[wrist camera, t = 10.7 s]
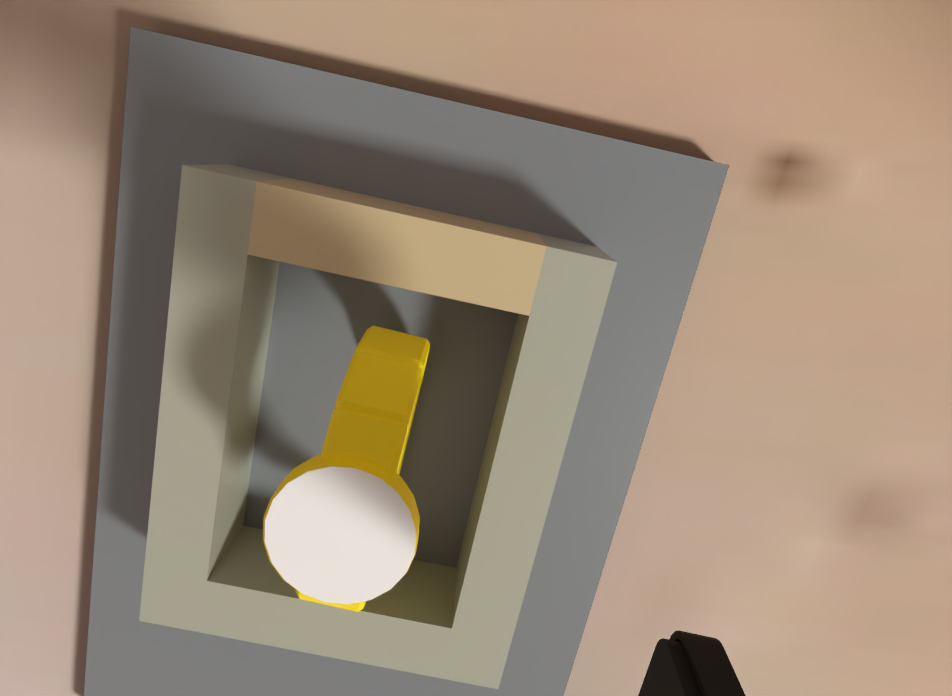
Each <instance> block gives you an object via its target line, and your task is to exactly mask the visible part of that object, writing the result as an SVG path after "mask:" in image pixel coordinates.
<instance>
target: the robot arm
mask: <svg viewBox="0 0 952 696" xmlns="http://www.w3.org/2000/svg"><path fill="white" fill-rule="evenodd" d="M638 696H745V694H744V691H743V689H742V687H741V685H740V683H739V680H738V678H737V676H736V674H735V672H734V669H733V667H732V665H731V663H730V661H729V658H728V656H727V654H726V652H725V650H724V647H723V646H722V644H721V642H720V641H719V640H717V639H716V638H711V637H706V636H702V635H697V634H692V633H687V632H683V631H675V632H674V633H673V634H672V635H671V638H670V640H668V639H660V640H659V641H658V643H657V645H656V647H655V650H654V653H653V656H652V659H651V661H650V664H649V667H648V670H647V673H646V676H645V678H644V681H643V684H642V687H641V690H640V693H639V695H638Z"/></svg>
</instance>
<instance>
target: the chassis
mask: <svg viewBox="0 0 952 696" xmlns="http://www.w3.org/2000/svg"><path fill="white" fill-rule="evenodd" d="M728 167H729V165H726V164H722V163H717V162H713V161H709V160H705V159H700V158H696V157H692V156H687V155H683V154H679V153H674V152H670V151H666V150H661V149H657V148H653V147H648V146H644V145H640V144H636V143H631V142H627V141H623V140H618V139H614V138H610V137H605V136H601V135H597V134H592V133H588V132H584V131H579V130H575V129H571V128H567V127H562V126H558V125H554V124H549V123H545V122H541V121H536V120H532V119H528V118H523V117H519V116H515V115H510V114H506V113H502V112H498V111H493V110H489V109H485V108H480V107H476V106H472V105H467V104H463V103H459V102H454V101H450V100H446V99H441V98H437V97H433V96H429V95H424V94H420V93H416V92H411V91H407V90H403V89H398V88H394V87H390V86H385V85H381V84H377V83H372V82H368V81H364V80H360V79H355V78H351V77H347V76H342V75H338V74H334V73H329V72H325V71H321V70H316V69H312V68H308V67H303V66H299V65H295V64H291V63H286V62H282V61H278V60H273V59H269V58H265V57H260V56H256V55H252V54H247V53H243V52H239V51H234V50H230V49H226V48H222V47H217V46H213V45H209V44H204V43H200V42H196V41H191V40H187V39H183V38H178V37H174V36H170V35H165V34H161V33H157V32H153V31H148V30H144V29H140V28H135V27H131V26H130V40H129V55H128V69H127V83H126V98H125V112H124V126H123V141H122V155H121V169H120V183H119V198H118V212H117V226H116V241H115V255H114V269H113V284H112V298H111V312H110V327H109V341H108V355H107V369H106V384H105V398H104V412H103V427H102V441H101V455H100V470H99V484H98V498H97V513H96V527H95V541H94V556H93V570H92V584H91V598H90V613H89V627H88V641H87V656H86V670H85V684H84V696H563V695H564V692H565V689H566V686H567V682H568V679H569V676H570V673H571V670H572V666H573V663H574V660H575V657H576V654H577V650H578V647H579V644H580V641H581V638H582V634H583V631H584V628H585V625H586V622H587V618H588V615H589V612H590V609H591V606H592V602H593V599H594V596H595V593H596V590H597V586H598V583H599V580H600V577H601V574H602V570H603V567H604V564H605V561H606V558H607V554H608V551H609V548H610V545H611V542H612V538H613V535H614V532H615V529H616V526H617V522H618V519H619V516H620V513H621V510H622V506H623V503H624V500H625V497H626V494H627V490H628V487H629V484H630V481H631V478H632V474H633V471H634V468H635V465H636V462H637V459H638V455H639V452H640V449H641V446H642V443H643V439H644V436H645V433H646V430H647V427H648V423H649V420H650V417H651V414H652V411H653V407H654V404H655V401H656V398H657V395H658V391H659V388H660V385H661V382H662V379H663V375H664V372H665V369H666V366H667V363H668V359H669V356H670V353H671V350H672V347H673V343H674V340H675V337H676V334H677V331H678V327H679V324H680V321H681V318H682V315H683V311H684V308H685V305H686V302H687V299H688V295H689V292H690V289H691V286H692V283H693V279H694V276H695V273H696V270H697V267H698V263H699V260H700V257H701V254H702V251H703V247H704V244H705V241H706V238H707V235H708V231H709V228H710V225H711V222H712V219H713V215H714V212H715V209H716V206H717V203H718V199H719V196H720V193H721V190H722V187H723V183H724V180H725V177H726V174H727V171H728ZM372 326H378V327H382V328H386V329H390V330H394V331H398V332H402V333H406V334H410V335H414V336H418V337H422V338H426V339H427V340H428V341H429V343H430V349H429V354H428V358H427V363H426V367H425V371H424V376H423V382H422V384H421V388H420V392H419V396H418V400H417V404H416V408H415V413H414V417H413V421H412V425H411V429H410V433H409V437H408V441H407V445H406V449H405V454H404V458H403V462H402V466H401V470H400V474H399V476H401V477H402V479H403V480H404V482H405V483H406V484H407V486H408V487H409V489H410V490H411V492H412V493H413V495H414V497H415V501H416V504H417V508H418V512H419V516H420V525H419V537H418V543H417V548H416V553H415V556H414V558H413V560H412V563H411V565H410V567H409V569H408V571H407V573H406V574H405V575H404V576H403V577H402V578H401V579H400V580H399V581H398V582H397V583H396V584H395V586H394V587H393V588H392V589H391V590H389V591H387V592H385V593H383V594H381V595H379V596H377V597H376V598H374V599H372V600H368V601H366V603H365V606H364V608H363V609H362V610H360V611H359V612H356V611H351V610H347V609H342V608H338V607H333V606H329V605H324V604H320V603H315V602H311V601H306V600H302V599H299V597H298V595H297V593H296V589H295V588H294V587H292V586H291V585H290V584H288V583H287V582H286V581H284V580H283V579H282V577H281V576H280V575H279V573H278V572H277V571H276V569H275V568H274V567H273V565H272V564H271V562H270V560H269V557H268V554H267V551H266V549H265V546H264V542H263V518H264V514H265V512H266V509H267V507H268V504H269V502H270V499H271V497H272V496H273V494H274V493H275V491H276V490H277V488H278V487H279V485H280V484H281V482H282V481H283V480H284V479H285V478H286V477H287V476H288V474H289V473H290V472H291V471H292V470H293V469H294V468H295V467H297V466H299V465H300V464H302V463H304V462H306V461H307V460H309V459H311V458H313V457H315V456H320V455H321V452H322V448H323V445H324V441H325V438H326V434H327V431H328V427H329V424H330V420H331V417H332V413H333V410H334V409H335V408H336V400H337V398H338V395H339V392H340V390H341V387H342V384H343V381H344V379H345V376H346V373H347V370H348V368H349V365H350V362H351V359H352V357H353V354H354V353H355V350H356V347H357V346H358V344H359V342H360V341H361V339H362V337H363V335H364V334H365V332H366V330H367V329H368V328H370V327H372Z"/></svg>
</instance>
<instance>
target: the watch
mask: <svg viewBox="0 0 952 696" xmlns="http://www.w3.org/2000/svg"><path fill="white" fill-rule="evenodd" d="M429 349H430V343H429V341H428V340H427V339H426V338H422V337H418V336H414V335H410V334H406V333H402V332H398V331H394V330H390V329H386V328H382V327H378V326H372V327H370V328H368V329H367V330H366V332H365V334H364V335H363V337H362V339H361V341H360V342H359V344H358V346H357V347H356V350H355V353H354V354H353V357H352V359H351V362H350V365H349V368H348V370H347V373H346V376H345V379H344V381H343V384H342V387H341V390H340V392H339V395H338V398H337V400H336V408H335V409H334V410H333V413H332V417H331V420H330V424H329V427H328V431H327V434H326V438H325V441H324V445H323V448H322V452H321V455H320V456H315V457H313V458H311V459H309V460H307V461H306V462H304V463H302V464H300V465H299V466H297V467H295V468H294V469H293V470H292V471H291V472H290V473H289V474H288V476H287V477H286V478H285V479H284V480H283V481H282V482H281V484H280V485H279V487H278V488H277V490H276V491H275V493H274V494H273V496H272V497H271V499H270V502H269V504H268V507H267V509H266V512H265V514H264V518H263V542H264V546H265V549H266V551H267V554H268V557H269V560H270V562H271V564H272V565H273V567H274V568H275V569H276V571H277V572H278V573H279V575H280V576H281V577H282V579H283V580H284V581H286V582H287V583H288V584H290V585H291V586H292V587H294V588H295V589H296V593H297V595H298V597H299V599H302V600H306V601H311V602H315V603H320V604H324V605H329V606H333V607H338V608H342V609H347V610H351V611H356V612H359V611H360V610H362V609H363V608H364V606H365V603H366V601H368V600H372V599H374V598H376V597H377V596H379V595H381V594H383V593H385V592H387V591H389V590H391V589H392V588H393V587H394V586H395V584H396V583H397V582H398V581H399V580H400V579H401V578H402V577H403V576H404V575H405V574H406V573H407V571H408V569H409V567H410V565H411V563H412V560H413V558H414V556H415V553H416V548H417V543H418V537H419V525H420V516H419V512H418V508H417V504H416V501H415V497H414V495H413V493H412V492H411V490H410V489H409V487H408V486H407V484H406V483H405V482H404V480H403V479H402V477H401V476H399V474H400V470H401V466H402V462H403V458H404V454H405V449H406V445H407V441H408V437H409V433H410V429H411V425H412V421H413V417H414V413H415V408H416V404H417V400H418V396H419V392H420V388H421V384H422V382H423V376H424V371H425V367H426V363H427V358H428V354H429Z"/></svg>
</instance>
